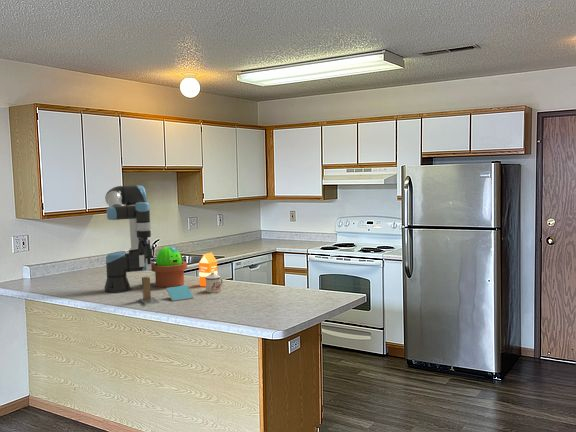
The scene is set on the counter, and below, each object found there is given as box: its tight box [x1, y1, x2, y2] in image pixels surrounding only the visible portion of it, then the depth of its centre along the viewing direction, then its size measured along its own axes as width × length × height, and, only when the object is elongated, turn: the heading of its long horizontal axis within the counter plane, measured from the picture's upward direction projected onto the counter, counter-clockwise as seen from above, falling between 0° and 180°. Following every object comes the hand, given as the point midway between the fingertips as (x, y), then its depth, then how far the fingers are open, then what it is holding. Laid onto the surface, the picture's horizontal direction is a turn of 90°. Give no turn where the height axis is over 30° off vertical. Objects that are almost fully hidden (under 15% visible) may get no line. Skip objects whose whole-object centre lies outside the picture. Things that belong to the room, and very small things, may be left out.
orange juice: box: [198, 252, 218, 287], centre depth 345 cm, size 8×9×20 cm
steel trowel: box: [138, 276, 160, 306], centre depth 302 cm, size 12×8×13 cm, turn 30°
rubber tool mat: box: [134, 299, 147, 307], centre depth 302 cm, size 16×12×1 cm
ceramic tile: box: [165, 284, 194, 302], centre depth 309 cm, size 12×12×1 cm
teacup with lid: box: [205, 272, 224, 294], centre depth 326 cm, size 12×9×12 cm
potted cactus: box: [151, 246, 188, 288], centre depth 349 cm, size 22×22×25 cm
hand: (145, 268), depth 305 cm, fingers open, 13 cm apart
